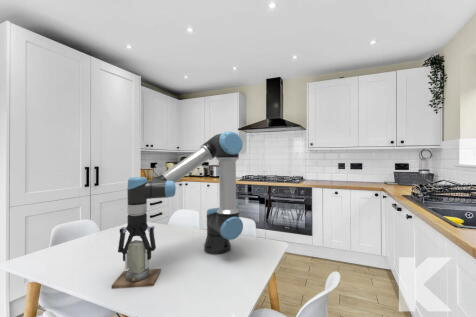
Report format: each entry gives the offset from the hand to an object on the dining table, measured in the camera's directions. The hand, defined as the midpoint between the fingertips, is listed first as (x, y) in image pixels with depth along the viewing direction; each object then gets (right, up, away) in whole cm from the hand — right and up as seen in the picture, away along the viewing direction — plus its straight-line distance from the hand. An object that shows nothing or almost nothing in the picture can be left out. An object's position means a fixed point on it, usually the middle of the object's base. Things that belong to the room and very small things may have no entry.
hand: (137, 267), depth 96 cm
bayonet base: (0, -5, 0) cm, 5 cm away
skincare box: (0, -2, 0) cm, 2 cm away
